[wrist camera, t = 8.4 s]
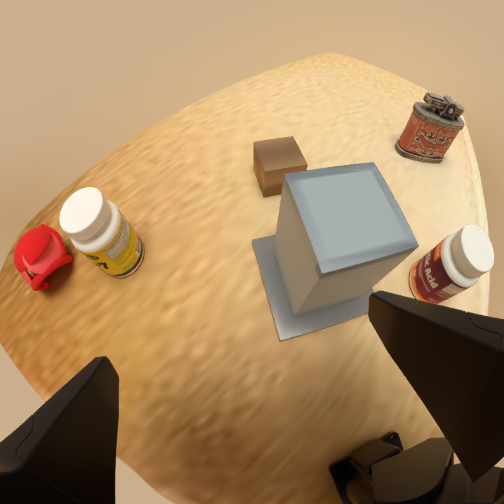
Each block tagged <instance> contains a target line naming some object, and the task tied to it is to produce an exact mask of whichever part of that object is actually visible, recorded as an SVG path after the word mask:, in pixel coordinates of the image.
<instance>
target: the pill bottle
mask: <svg viewBox="0 0 504 504" xmlns="http://www.w3.org/2000/svg"><path fill="white" fill-rule="evenodd" d="M493 263H494V252H493V247H492V245H491V242H490V240H489V238H488V236H487V235H486V234H485V232H484V231H483V230H482V229H481V228H479V227H478V226H476V225H473V224H468V225H466V226H464V227H463V228H462V229H461V230H460V231H458V232H457V233H455V234H451V235H449V236H447V237H446V238H445V239H444V240H442V241H441V242H440V243H439V244H438V245H437V246H436V247H435V248H433V249H432V250H431V251H430V252H429V253H427V254H426V255H425V256H424V257H423V258H422V259H420V260H419V261H418V262H417V263H415V264H414V266H413V267H412V269H411V271H410V276H409V282H410V288H411V290H412V293H413V295H414V296H415V297H416V299H417V300H421V301H425V302H429V303H433V304H439V303H441V302H443V301H444V300H447V299H448V298H450V297H452V296H454V295H456V294H458V293H460V292H462V291H464V290H466V289H467V288H469V287H471V286H473V285H474V284H475V283H476V282H477V281H478V279H479V277H480V276H481V275H483V274H485V273H486V272H488V271H489V270H490V269H491V268H492V266H493Z"/></svg>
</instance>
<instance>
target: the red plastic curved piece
mask: <svg viewBox="0 0 504 504" xmlns="http://www.w3.org/2000/svg"><path fill="white" fill-rule="evenodd" d="M72 260H73V259H72V256H71V255H67V252H66V249H65V247H64V244H63V241H62V239H61V237H60V235H59V233H58V232H57V231H56V230H54V229H52V228H50V227H48V226H46V225H44V224H41V225H40V226H39V228H34V229H31V230H29V231H28V232H26V233H25V234H24V235H23V236H22V237H21V239H20V240H19V242H18V243H17V246H16V248H15V252H14V262H15V266H16V268H17V270H18V271H19V272H21V274H22V276H23V278H24V279H25V280H26V281H27V283H28V284H29V285H30V286H31V287H32V289H33V290H35V291H39V290H43V289H48V288H49V283H48V282H45V281H43V280H44V279H45V278H46V277H47V276H48V275H49V274H50V273H52V272H53V271H54V270H56V269H57V268H58V267H60V266H61V265H63V264H65V263H69V262H72ZM26 269H29V270H30V271H31V272H33V273H35V274H36V276H35V277H34V278H33V277H32V276H31V275H30V274H29V273H28V272H27V270H26Z"/></svg>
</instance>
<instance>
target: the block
mask: <svg viewBox="0 0 504 504" xmlns="http://www.w3.org/2000/svg"><path fill="white" fill-rule="evenodd" d="M306 169H307V163H306V161H305V159H304V157H303V155H302V153H301V151H300V149H299V147H298V145H297V143H296V141H295V139H294V138H293V136H291V137H283V138H276V139H269V140H263V141H257V142H254V171H255V174H256V177H257V180H258V183H259V185H260V188H261V191H262V194H263V197H269V196H274V195H279V194H282V187H283V180H284V174H288V173H294V172H301V171H306Z"/></svg>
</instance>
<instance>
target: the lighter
mask: <svg viewBox="0 0 504 504" xmlns="http://www.w3.org/2000/svg"><path fill="white" fill-rule="evenodd" d="M423 100H424V101H425V102H426V103H421V102H415V104H414V106H413V112H412V114H411V116H410V118H409V121H408V123H407V125H406V127H405V129H404V131H403V133H402V135H401V137H400V139H399V140H397V142H396V144H395V150H396V151H397V152H398V154H400V155H401V156H403V157H405V158H408V159H412V160H415V161H419V162H424V163H441V161H442V160H443V158H444V154H445V153H446V151H447V150H448V148H449V147H450V145H451V144H452V142H453V140H454V139H455V137H456V136H457V134H458V132H459V131H460V130H462V129H463V127H464V122H463V121H462V119H461V118H460V115H462V113H463V111H464V107H462V105H460V104H459V103H456V102H454V101H453V100H452V99H451V98H450V97H449V96H444V97H441V96H440V95H436V94H434V93H430V92H428V93H426V94H425V96H424V98H423Z"/></svg>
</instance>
